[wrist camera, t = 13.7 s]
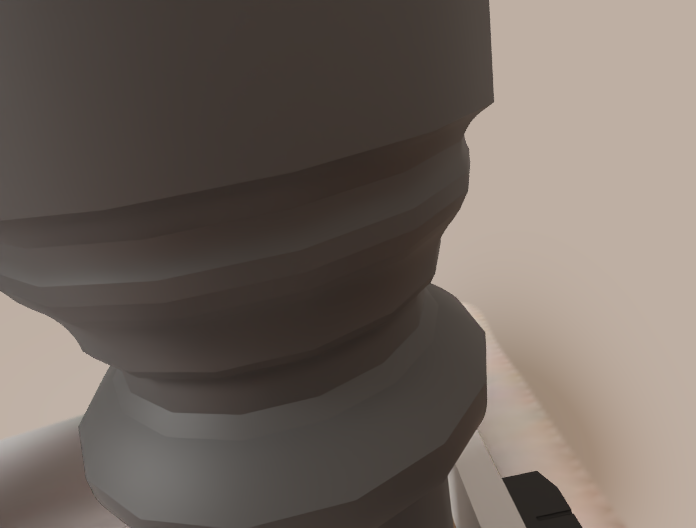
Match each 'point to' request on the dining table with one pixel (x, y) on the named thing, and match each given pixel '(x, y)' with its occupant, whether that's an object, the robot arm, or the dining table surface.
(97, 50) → the candle holder
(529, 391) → the dining table surface
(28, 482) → the dining table surface
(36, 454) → the dining table surface
